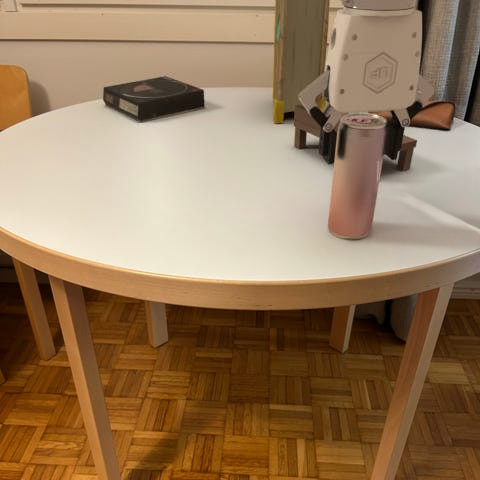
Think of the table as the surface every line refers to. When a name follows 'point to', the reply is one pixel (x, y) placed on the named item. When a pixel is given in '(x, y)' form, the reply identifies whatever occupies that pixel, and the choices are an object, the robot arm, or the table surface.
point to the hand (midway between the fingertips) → (358, 157)
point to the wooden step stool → (308, 124)
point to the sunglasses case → (429, 115)
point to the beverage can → (356, 174)
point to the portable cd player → (154, 98)
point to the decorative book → (298, 51)
